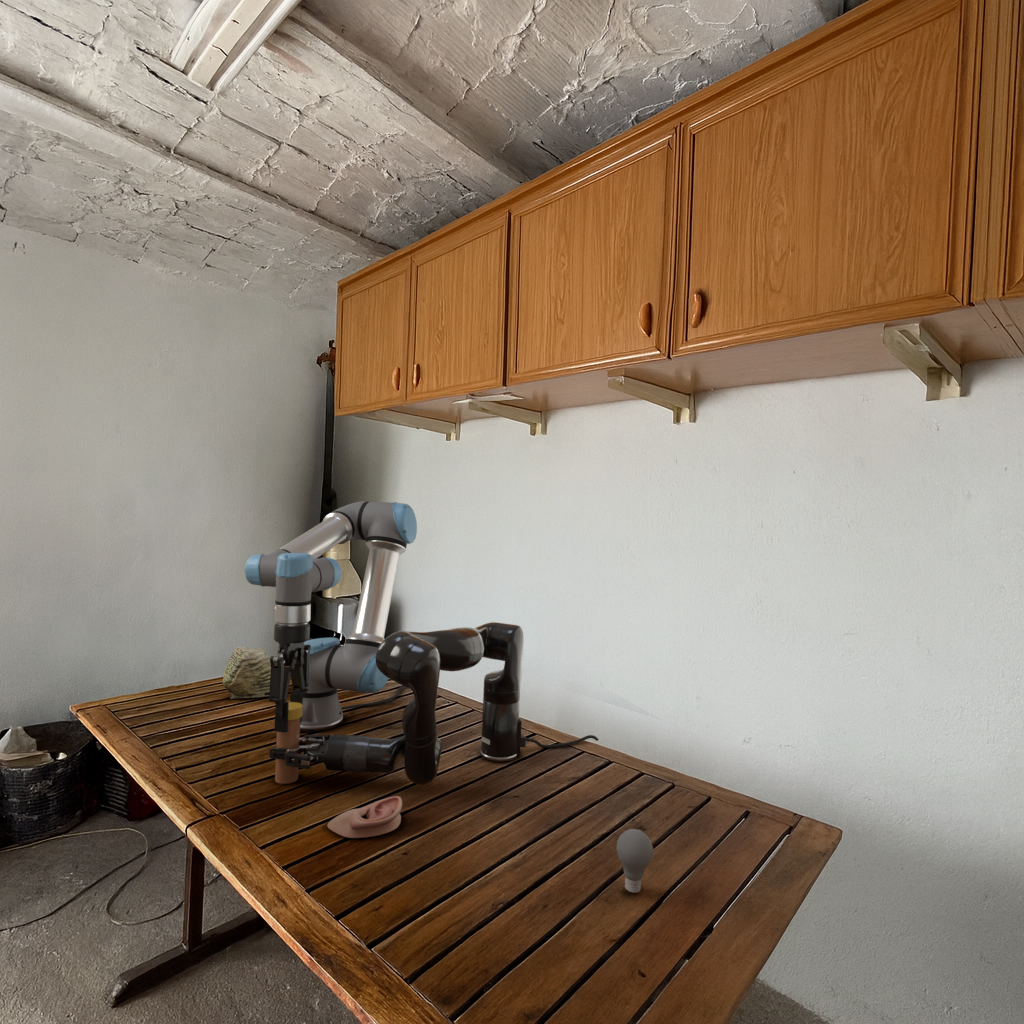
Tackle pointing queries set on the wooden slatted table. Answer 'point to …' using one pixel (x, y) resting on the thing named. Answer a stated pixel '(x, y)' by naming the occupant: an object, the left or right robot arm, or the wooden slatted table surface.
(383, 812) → the anatomical model
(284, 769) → the jar
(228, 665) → the fossil
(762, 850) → the wooden slatted table surface
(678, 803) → the wooden slatted table surface
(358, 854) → the wooden slatted table surface
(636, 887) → the light bulb
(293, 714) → the lid
